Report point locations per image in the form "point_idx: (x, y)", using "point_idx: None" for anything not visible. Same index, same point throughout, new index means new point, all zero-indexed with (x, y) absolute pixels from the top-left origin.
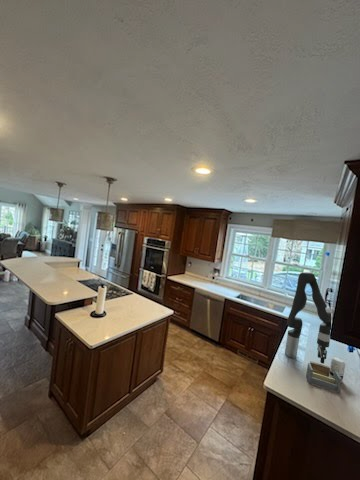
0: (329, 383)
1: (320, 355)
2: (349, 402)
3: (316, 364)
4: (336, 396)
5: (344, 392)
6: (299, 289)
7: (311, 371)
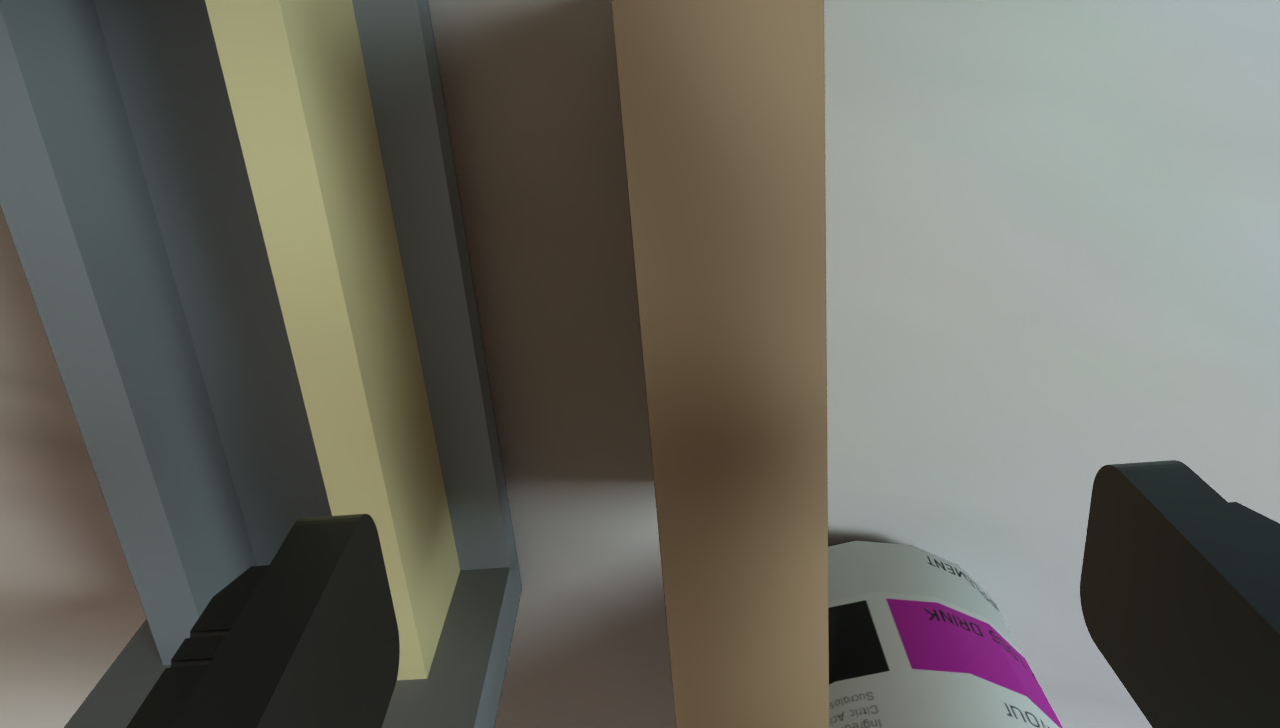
0: (106, 500)
1: (1165, 699)
2: (22, 719)
3: (638, 267)
4: (8, 530)
5: None
6: None
7: None
